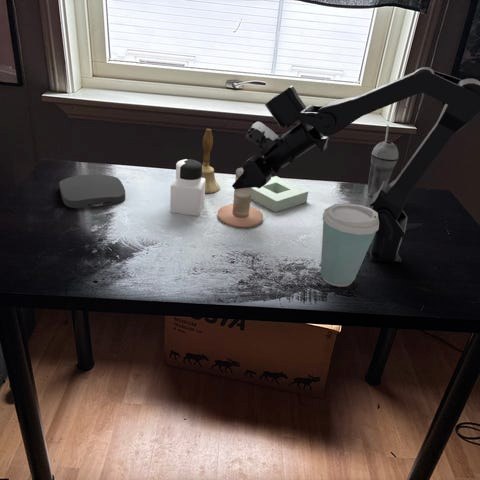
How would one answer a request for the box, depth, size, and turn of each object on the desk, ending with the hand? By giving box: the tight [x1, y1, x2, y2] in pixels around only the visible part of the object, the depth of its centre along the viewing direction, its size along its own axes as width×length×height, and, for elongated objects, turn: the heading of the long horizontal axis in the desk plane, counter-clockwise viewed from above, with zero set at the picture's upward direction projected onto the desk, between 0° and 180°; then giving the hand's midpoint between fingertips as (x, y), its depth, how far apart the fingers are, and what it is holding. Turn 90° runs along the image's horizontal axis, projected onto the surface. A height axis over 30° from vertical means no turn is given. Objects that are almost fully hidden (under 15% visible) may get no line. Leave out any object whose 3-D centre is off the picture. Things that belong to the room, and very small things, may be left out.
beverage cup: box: [366, 124, 399, 197], centre depth 129 cm, size 7×7×20 cm
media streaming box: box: [58, 173, 126, 209], centre depth 117 cm, size 15×15×3 cm
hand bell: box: [202, 128, 221, 194], centre depth 124 cm, size 8×8×16 cm
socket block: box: [251, 175, 309, 213], centre depth 125 cm, size 12×12×3 cm
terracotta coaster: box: [217, 203, 264, 229], centre depth 114 cm, size 11×11×1 cm
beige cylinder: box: [232, 167, 252, 218], centre depth 111 cm, size 4×4×11 cm
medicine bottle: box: [169, 158, 206, 217], centre depth 112 cm, size 7×7×12 cm
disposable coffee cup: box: [320, 202, 379, 288], centre depth 91 cm, size 11×11×15 cm
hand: (241, 180), depth 110 cm, fingers open, 9 cm apart
